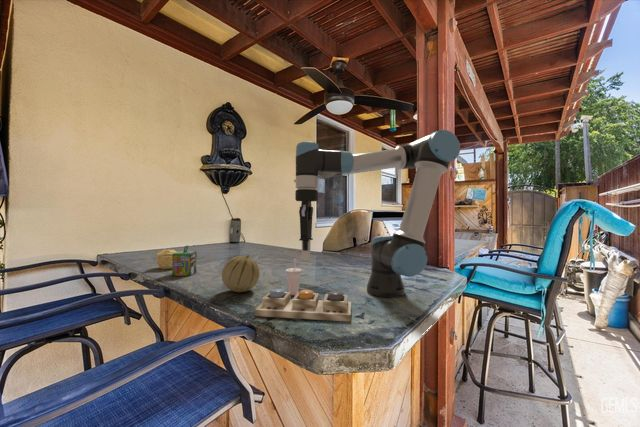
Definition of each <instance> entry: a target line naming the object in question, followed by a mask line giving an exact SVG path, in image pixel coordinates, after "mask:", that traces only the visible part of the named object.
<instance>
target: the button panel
mask: <svg viewBox="0 0 640 427" xmlns="http://www.w3.org/2000/svg"><path fill="white" fill-rule="evenodd" d="M291 296H292V295H291V292H289V291H284V297H283V298H270V291H269V292H267V293H266V294H265V295H264V296H263V297H262V301H261V303H260V304H259V305H258V306H257V307H256V308H255V309H254V317H263V318H264V317H266V318H282V319H285V318H286V319H301V320H302V319H303V320H319V321H320V320H321V321H332V322H333V321H334V322H337V321H338V322H351V318H352V317H351V316H352V301H348V294H343V301H330V300H328V293H325V294H324V297H323V300H322V299H319V296H320V294H319V293H315V292H313V300H310V299H299V292H298V293H297V294H296V295H294V297H293V298H292V297H291Z"/></svg>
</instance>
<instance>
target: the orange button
mask: <svg viewBox="0 0 640 427" xmlns="http://www.w3.org/2000/svg"><path fill="white" fill-rule="evenodd" d="M298 293H299V299H310V300H313V293H314V291H313V290H311V289H301V290H299V291H298Z"/></svg>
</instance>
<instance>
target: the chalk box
mask: <svg viewBox="0 0 640 427" xmlns="http://www.w3.org/2000/svg"><path fill="white" fill-rule="evenodd" d="M188 249H189V245H185V246H184V249H183V250H178V251H177V252H176V253H174V254H172V269H171V270H172V271H171V272H172V275H171V276H172V277H190V276H192V275H194V274H196V273H197V257H198V256H197V255H198V254H197V250H188Z"/></svg>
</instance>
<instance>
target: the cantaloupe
mask: <svg viewBox="0 0 640 427" xmlns="http://www.w3.org/2000/svg"><path fill="white" fill-rule="evenodd" d="M259 278H260V268H259V265H258V263H257V262H256V261H255V259H253V258H252V257H250V254H247V255H246V256H245V255H237V256H234V257H232V258H231V259H229V260H228V261H227V262H226V263H225V265H224V266H223V268H222V270H221V281H222V283H223V285H224V286H225V287H226V288H227V290H230V291H232V292H235V293H245V292H249V291H250V290H252V289H253V288H254V287H255V286H256V285H257V282H258V280H259Z"/></svg>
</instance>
